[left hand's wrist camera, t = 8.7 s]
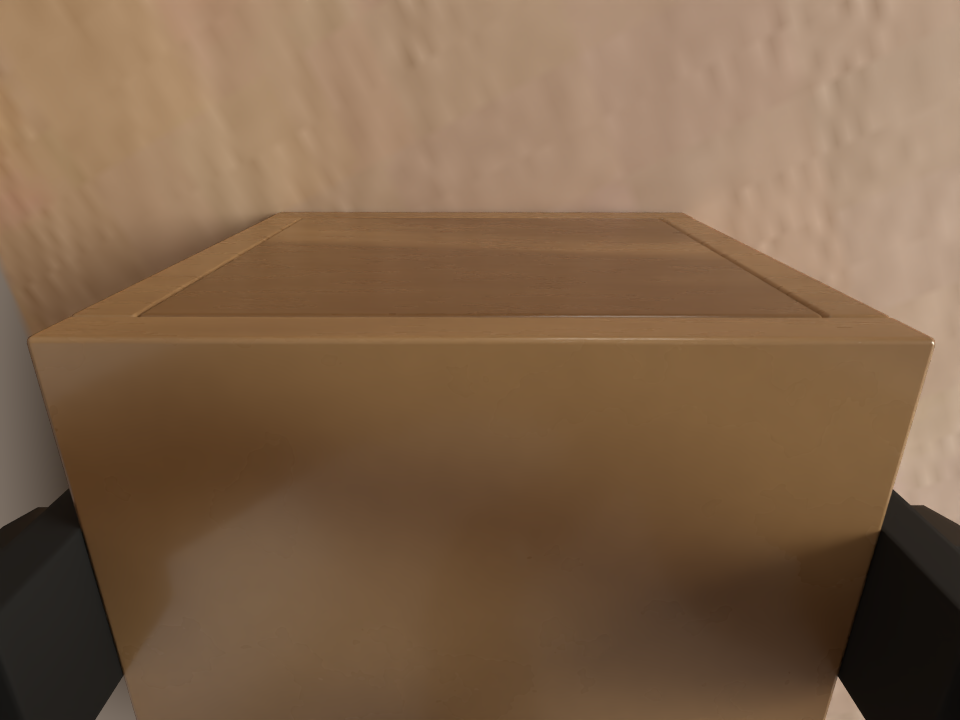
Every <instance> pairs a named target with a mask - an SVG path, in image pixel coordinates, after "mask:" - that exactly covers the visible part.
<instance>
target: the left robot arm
mask: <svg viewBox="0 0 960 720" xmlns="http://www.w3.org/2000/svg"><path fill="white" fill-rule="evenodd" d="M122 677H123V671H122V668H121V665H120V661H119V658H118V654H117V651H116V647H115V644H114V640H113V637H112V634H111V630H110V627H109V623H108V620H107V616H106V613H105V610H104V606H103V603H102V599H101V596H100V592H99V589H98V586H97V582H96V579H95V575H94V572H93V568H92V565H91V561H90V558H89V555H88V551H87V548H86V544H85V541H84V537H83V534H82V531H81V527H80V524H79V520H78V517H77V513H76V510H75V507H74V503H73V500H72V496H71V493H70V489H68V490H67V491H65V492H64V493H63V494H62V495H61V496H60V497H59V498H58V499H57V500H56V501H55V502H53V503H52V504H51V505H50V506H49V507H38V508H36V509H34V510H32V511H31V512H29V513H27V514H25V515H23V516H21V517H20V518H18V519H16V520H14V521H12V522H11V523H9V524H7V525H5V526H3V527H2V528H1V529H0V720H95V719H96V717H97V716H98V714H99V713H100V711H101V710H102V708H103V707H104V705H105V703H106V702H107V700H108V699H109V697H110V696H111V694H112V692H113V691H114V689H115V688H116V686H117V685H118V683H119V681H120V680H121V678H122ZM838 677H839V679H840V680H841V682H842V683H843V685H844V687H845V688H846V690H847V691H848V693H849V694H850V696H851V698H852V699H853V701H854V702H855V704H856V705H857V707H858V709H859V710H860V712H861V713H862V715H863V716H864V718H865V720H960V525H958V524H957V523H955V522H953V521H951V520H949V519H947V518H946V517H944V516H942V515H940V514H938V513H937V512H935V511H933V510H931V509H929V508H928V507H926V506H924V505H910V504H909V503H907V502H906V501H905V500H904V499H903V498H902V497H901V496H900V495H899V494H898V493H896V492H895V491H894V490H892V493H891V497H890V500H889V503H888V507H887V510H886V514H885V517H884V520H883V524H882V527H881V531H880V534H879V537H878V541H877V544H876V548H875V551H874V554H873V558H872V561H871V565H870V568H869V571H868V575H867V578H866V582H865V585H864V588H863V592H862V595H861V599H860V602H859V605H858V609H857V612H856V616H855V619H854V622H853V626H852V629H851V633H850V636H849V639H848V643H847V646H846V650H845V653H844V656H843V660H842V663H841V667H840V670H839V673H838Z"/></svg>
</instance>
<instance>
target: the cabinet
mask: <svg viewBox="0 0 960 720" xmlns="http://www.w3.org/2000/svg"><path fill="white" fill-rule="evenodd" d="M27 345H28V348H29V352H30V355H31V359H32V362H33V366H34V369H35V373H36V376H37V379H38V383H39V386H40V390H41V393H42V397H43V400H44V403H45V407H46V410H47V414H48V417H49V421H50V424H51V428H52V431H53V434H54V438H55V441H56V445H57V448H58V451H59V455H60V458H61V462H62V465H63V469H64V472H65V475H66V479H67V482H68V486H69V489H70V493H71V496H72V500H73V503H74V507H75V510H76V513H77V517H78V520H79V524H80V527H81V531H82V534H83V537H84V541H85V544H86V548H87V551H88V555H89V558H90V561H91V565H92V568H93V572H94V575H95V579H96V582H97V586H98V589H99V592H100V596H101V599H102V603H103V606H104V610H105V613H106V616H107V620H108V623H109V627H110V630H111V634H112V637H113V640H114V644H115V647H116V651H117V654H118V658H119V661H120V665H121V668H122V671H123V675H124V678H125V682H126V685H127V689H128V692H129V695H130V699H131V702H132V706H133V709H134V713H135V716H136V719H137V720H825V718H826V714H827V711H828V707H829V704H830V701H831V697H832V694H833V690H834V687H835V684H836V680H837V677H838V673H839V670H840V667H841V663H842V660H843V656H844V653H845V650H846V646H847V643H848V639H849V636H850V633H851V629H852V626H853V622H854V619H855V616H856V612H857V609H858V605H859V602H860V599H861V595H862V592H863V588H864V585H865V582H866V578H867V575H868V571H869V568H870V565H871V561H872V558H873V554H874V551H875V548H876V544H877V541H878V537H879V534H880V531H881V527H882V524H883V520H884V517H885V514H886V510H887V507H888V503H889V500H890V497H891V493H892V490H893V486H894V483H895V480H896V476H897V473H898V469H899V466H900V463H901V459H902V456H903V452H904V449H905V446H906V442H907V439H908V435H909V432H910V429H911V425H912V422H913V418H914V415H915V412H916V408H917V405H918V401H919V398H920V395H921V391H922V388H923V384H924V381H925V378H926V374H927V371H928V367H929V364H930V361H931V357H932V354H933V350H934V347H935V340H934V339H933V338H932V337H930V336H928V335H926V334H924V333H922V332H920V331H918V330H916V329H914V328H912V327H910V326H908V325H906V324H904V323H902V322H900V321H898V320H895V319H893V318H889V316H888V315H886V314H884V313H882V312H880V311H878V310H876V309H874V308H871V307H869V306H867V305H865V304H863V303H861V302H859V301H857V300H855V299H853V298H851V297H849V296H847V295H845V294H843V293H841V292H839V291H837V290H835V289H833V288H831V287H829V286H827V285H825V284H823V283H821V282H819V281H817V280H815V279H813V278H811V277H809V276H807V275H805V274H803V273H801V272H799V271H797V270H795V269H793V268H791V267H789V266H787V265H785V264H783V263H781V262H779V261H777V260H775V259H773V258H771V257H769V256H767V255H765V254H763V253H761V252H759V251H757V250H755V249H753V248H751V247H749V246H747V245H745V244H743V243H741V242H739V241H737V240H735V239H733V238H731V237H729V236H727V235H725V234H723V233H721V232H719V231H717V230H715V229H713V228H711V227H709V226H707V225H705V224H703V223H701V222H699V221H697V220H695V219H693V218H692V217H690V216H688V215H686V214H684V213H500V212H280V213H278V214H276V215H274V216H272V217H270V218H268V219H266V220H264V221H262V222H260V223H258V224H256V225H254V226H252V227H250V228H248V229H246V230H244V231H242V232H240V233H237V234H235V235H233V236H231V237H229V238H227V239H225V240H223V241H221V242H219V243H217V244H215V245H213V246H211V247H209V248H207V249H205V250H203V251H201V252H199V253H197V254H195V255H193V256H191V257H189V258H187V259H185V260H183V261H181V262H179V263H177V264H175V265H173V266H171V267H169V268H167V269H165V270H162V271H160V272H158V273H156V274H154V275H152V276H150V277H148V278H146V279H144V280H142V281H140V282H138V283H136V284H134V285H132V286H130V287H128V288H126V289H124V290H122V291H120V292H118V293H116V294H114V295H112V296H110V297H108V298H106V299H104V300H102V301H100V302H98V303H96V304H94V305H92V306H90V307H87V308H85V309H83V310H81V311H79V312H77V313H75V314H73V315H72V317H69V318H66V319H64V320H62V321H60V322H58V323H56V324H54V325H52V326H50V327H48V328H46V329H44V330H42V331H40V332H38V333H36V334H34V335H32V336H30V337H29V338H28V339H27Z"/></svg>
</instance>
